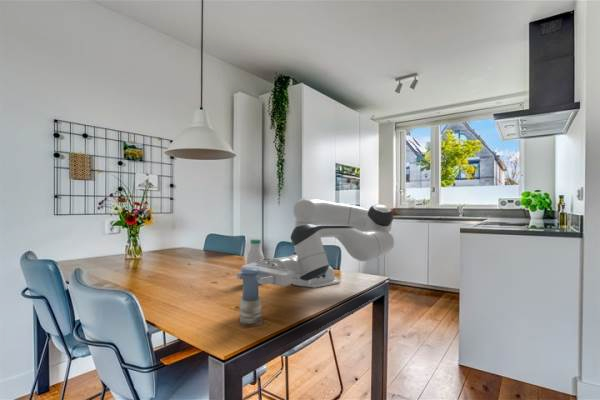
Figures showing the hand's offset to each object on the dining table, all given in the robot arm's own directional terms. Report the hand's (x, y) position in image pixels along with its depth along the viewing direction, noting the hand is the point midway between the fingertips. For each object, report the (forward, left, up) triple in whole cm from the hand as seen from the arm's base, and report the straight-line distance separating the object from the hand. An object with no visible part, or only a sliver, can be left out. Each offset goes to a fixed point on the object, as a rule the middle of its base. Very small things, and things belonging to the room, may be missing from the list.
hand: (248, 278), depth 93 cm
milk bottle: (-13, -45, -14) cm, 49 cm away
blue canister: (-1, 0, -6) cm, 6 cm away
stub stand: (-1, 0, -14) cm, 14 cm away
